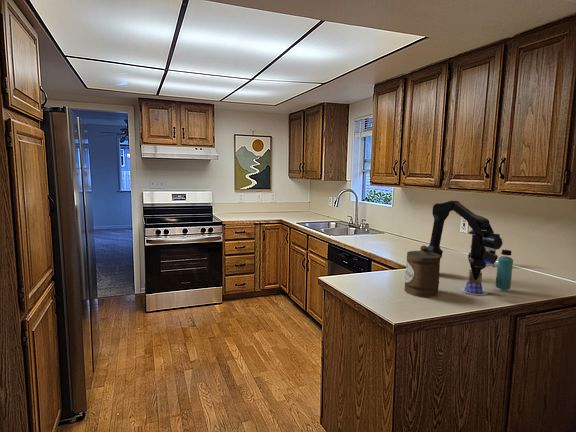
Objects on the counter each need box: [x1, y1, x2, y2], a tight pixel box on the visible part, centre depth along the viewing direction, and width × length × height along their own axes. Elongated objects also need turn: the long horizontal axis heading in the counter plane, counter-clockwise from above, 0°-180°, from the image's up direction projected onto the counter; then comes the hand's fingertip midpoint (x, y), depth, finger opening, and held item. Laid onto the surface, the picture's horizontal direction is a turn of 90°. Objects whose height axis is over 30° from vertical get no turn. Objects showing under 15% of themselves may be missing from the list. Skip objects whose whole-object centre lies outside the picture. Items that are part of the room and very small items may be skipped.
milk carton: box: [484, 247, 497, 268], centre depth 225 cm, size 7×7×20 cm
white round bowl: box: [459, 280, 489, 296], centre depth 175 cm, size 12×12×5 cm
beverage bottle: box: [494, 249, 514, 291], centre depth 177 cm, size 6×7×20 cm
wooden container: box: [404, 245, 441, 298], centre depth 171 cm, size 15×15×22 cm
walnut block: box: [467, 268, 483, 284], centre depth 175 cm, size 5×5×5 cm
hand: (474, 277), depth 175 cm, fingers open, 9 cm apart
